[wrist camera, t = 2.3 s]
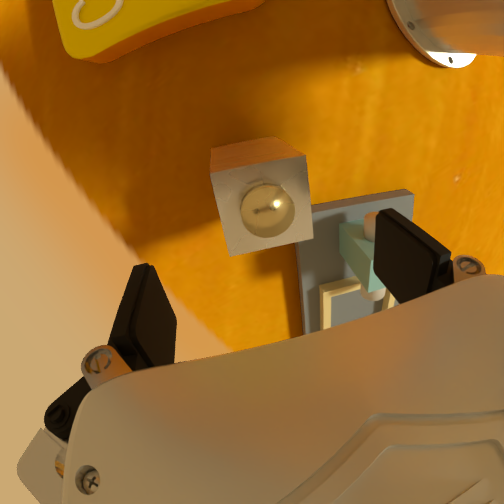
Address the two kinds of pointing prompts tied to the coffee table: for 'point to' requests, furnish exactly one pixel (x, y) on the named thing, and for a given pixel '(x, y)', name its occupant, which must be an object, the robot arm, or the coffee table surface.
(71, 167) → the coffee table surface
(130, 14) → the element tile
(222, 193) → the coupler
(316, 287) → the shaft stand
